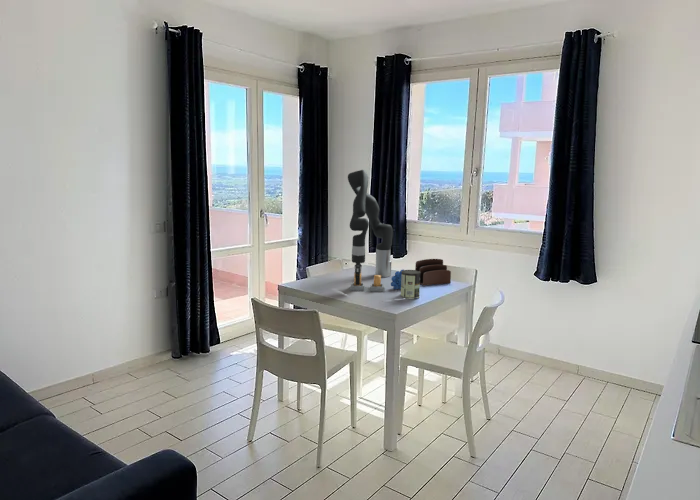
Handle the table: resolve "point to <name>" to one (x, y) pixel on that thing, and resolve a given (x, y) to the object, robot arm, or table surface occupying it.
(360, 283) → the loose jaw peg
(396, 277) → the grapes
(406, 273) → the coffee can
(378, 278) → the seated jaw peg
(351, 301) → the table surface
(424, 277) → the letter holder
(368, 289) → the grey peg socket base
